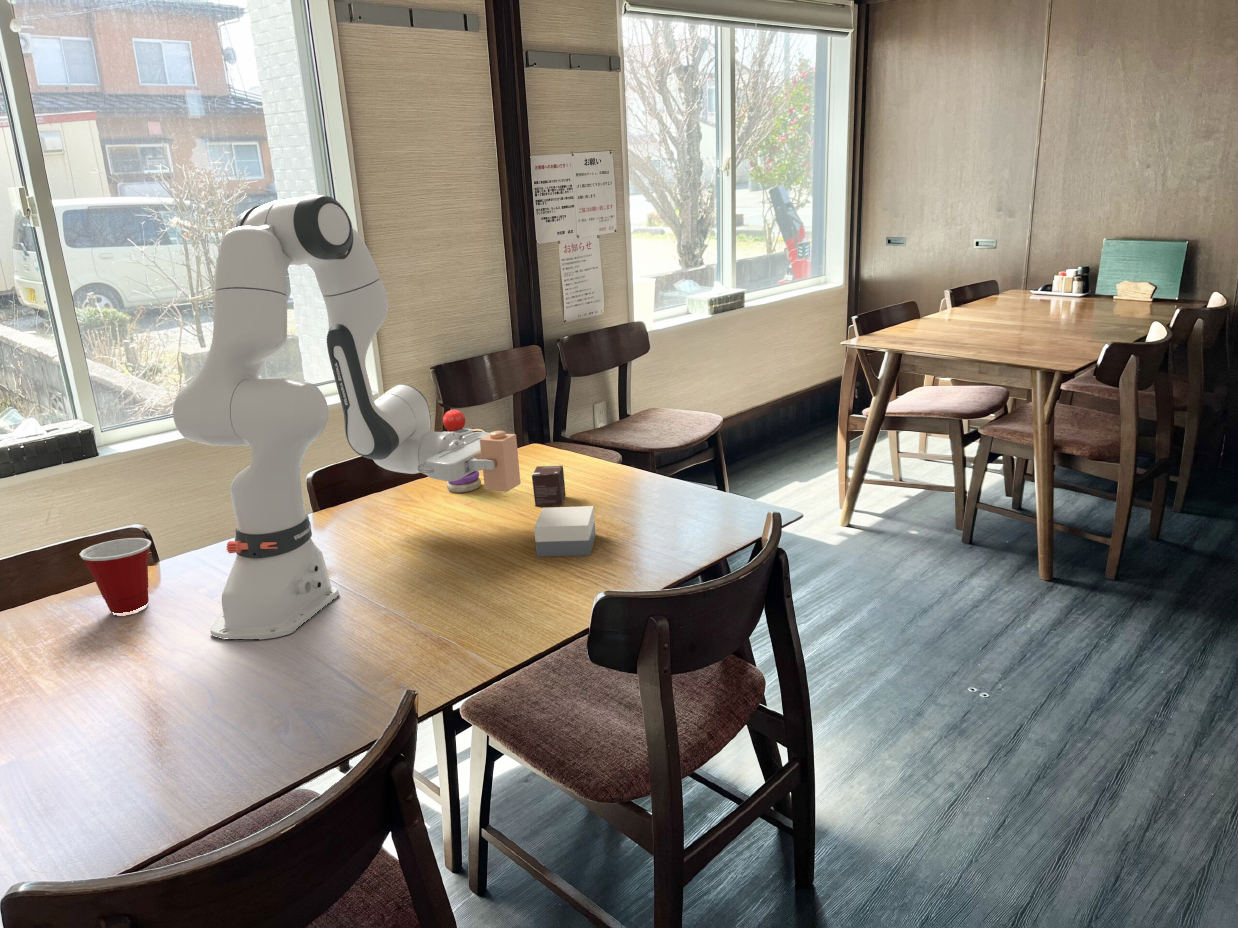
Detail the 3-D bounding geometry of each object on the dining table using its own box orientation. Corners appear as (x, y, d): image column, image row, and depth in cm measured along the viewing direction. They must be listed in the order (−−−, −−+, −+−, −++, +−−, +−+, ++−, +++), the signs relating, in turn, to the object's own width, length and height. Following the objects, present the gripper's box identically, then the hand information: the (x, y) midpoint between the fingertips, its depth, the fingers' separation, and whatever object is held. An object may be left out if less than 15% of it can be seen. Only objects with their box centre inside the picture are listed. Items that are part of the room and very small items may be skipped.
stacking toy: (470, 480, 213) (461, 403, 208) (487, 487, 207) (479, 409, 202) (441, 488, 209) (430, 410, 203) (458, 496, 203) (448, 416, 197)
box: (566, 496, 198) (563, 465, 196) (562, 506, 192) (559, 473, 190) (539, 497, 199) (536, 465, 197) (534, 506, 193) (531, 474, 191)
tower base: (590, 555, 166) (587, 525, 164) (537, 556, 167) (534, 526, 165) (595, 534, 176) (593, 506, 174) (545, 536, 176) (542, 507, 175)
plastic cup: (179, 597, 160) (164, 534, 156) (132, 625, 150) (116, 560, 146) (129, 593, 163) (114, 532, 159) (81, 621, 153) (63, 556, 149)
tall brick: (507, 491, 170) (501, 437, 167) (484, 489, 172) (479, 435, 169) (520, 483, 174) (515, 430, 171) (498, 481, 176) (493, 428, 173)
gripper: (409, 454, 167) (472, 459, 161) (470, 426, 184) (528, 430, 179) (414, 486, 169) (475, 492, 163) (474, 455, 186) (531, 460, 181)
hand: (504, 459), depth 171 cm, fingers closed on tall brick, 5 cm apart
